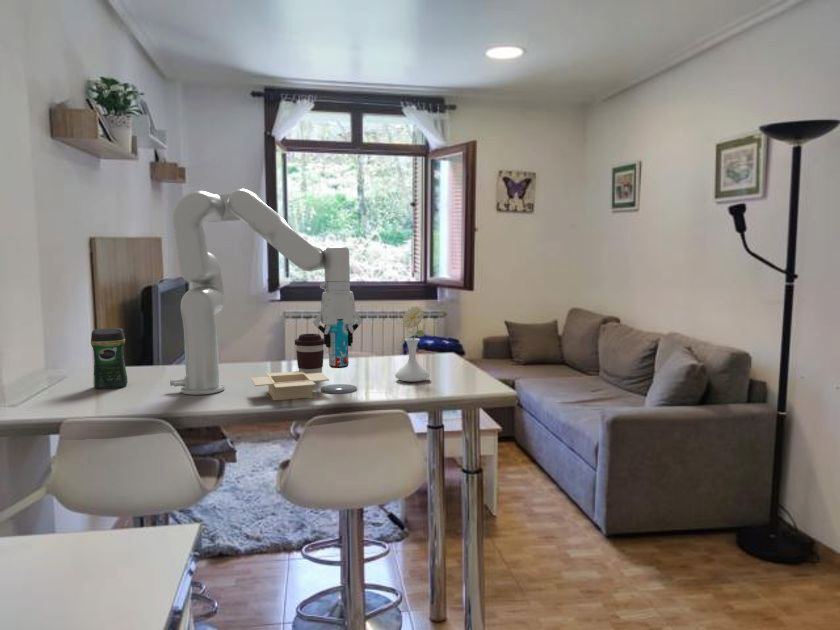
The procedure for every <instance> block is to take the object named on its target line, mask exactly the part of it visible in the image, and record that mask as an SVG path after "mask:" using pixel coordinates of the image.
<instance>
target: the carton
mask: <svg viewBox="0 0 840 630" xmlns="http://www.w3.org/2000/svg"><path fill="white" fill-rule="evenodd" d="M265 375H266V376H257V377H251V378H250V379H251V381H252V383H253V385H254V387H261V386H268V391H267V392H268V393H269V395H270V397H271V399H272V400H273V401H283V400H294V399H306V398H307V399H308V398H313V395H314V394H313V392H314V389H313V386H317V384H316V383H315V382H317V383H318V382H328V381H330V379H329V378H328V377H327V376H326V375H325V374H324V373H323V372H322V373H310V374H305V373H304V372H303V371H299V370H298V371H297V370H296V371H287V372H286V371H283V372H282V371H281V372H268V373H265Z"/></svg>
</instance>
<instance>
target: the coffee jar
mask: <svg viewBox="0 0 840 630" xmlns="http://www.w3.org/2000/svg"><path fill="white" fill-rule="evenodd" d="M90 337H91V338H90V345H91V347H92V350H93V381H92V382H93V387H94V388H95V389H99V390H105V389H116V388H121V387H126V386H127V385H128V373H127V367H126V362H125V357H124V355H125V354H124V346H125V343H126V338H125V333H124V329H123V328H122V327H121V328H120V327H110V328H109V327H108V328H107V327H105V328H97V329H94V330H92V331H91V335H90Z"/></svg>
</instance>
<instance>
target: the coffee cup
mask: <svg viewBox="0 0 840 630" xmlns="http://www.w3.org/2000/svg"><path fill="white" fill-rule="evenodd" d="M294 346H296V359H297V360H296V362H297V368H298V371H303V372H304V373H305V374H310V373H322V374H323V367H324V337H323V338H322V335H321V334H319V333H302V334H299V335H298V338H296V339H294Z"/></svg>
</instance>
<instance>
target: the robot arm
mask: <svg viewBox="0 0 840 630" xmlns="http://www.w3.org/2000/svg"><path fill="white" fill-rule="evenodd" d="M232 221H234V222H235V221H236V222H237V221H241V222H242V223H243V224H245V225H246V226H247V227H249V229H252V231H254V232H255V233H256V234H257V235H259V236H260V237H261V238H262V239H263V240H265V241H266V243H268V244H269V245H271V247H273V248H274V249H275V250H276V251H277V252H278V253H279V254H280V255H283V257H284V258H286V259H287V260H288V261H289V262H291V263H292V264H294V266H296V267H297V268H299V269H300V270H303V271H305V272H313V271H319V270H324V282H323V283H320V284H319V288H320V289H323V290H324V291H323V292H322V294H321V303H320V313H319V314H318V315H317V317H316V318H315V319H314V320H313V321H312V325H314V326H315V327H316V328H317V329H318V330H319V331H320V332H321V333H322V334H323V339H324V345H325V347H326V348H328V349H329V347H330V335H329V329H330V325H336V324H337V322H338V321H337V319H343V320H341V321H343V322H344V324H345V325H348V347H352V344H353V343H354V341H353V340H354V339H353V338H354V336H353V335H354V332H355V331H356V330H357V329H358V327H359V326H360V325H361V324H362V323H363V321H364V320H363V319H362V317H360V315H358V314H357V313H356V303H355V296H354V292H353V291H351V282H350V281H351V277H350V273H351V271H350V270H351V269H350V249H349V248H348V247H347V246H343V245H342V246H340V245H337V246H335V245H333V246H332V245H331V246H327V247H325V246H324V247H323V246H316V245H312V244H311V243H309V242H308V241H307V240H305V238H303V237H302V236H301V235H299V234H298V233H297V232H296V231H294V229H293V228H292V227H290V225H289V224H288V222H287V221H286V218H284V217H283V216H282V215H280V213H278V212H277V211H276V210H274V209H273V208H271V207H270V206H268V205H267V203H265V202H264V201H263V200H262V199H261V198H260V196H259V195H258V194H257V193H255V192H253V191H250V190H248V189H245V188H238V189H235V190H234V191H232V192H231V193H219V194H218V193H216V194H214V193H211V192H208V191H204V190H196V191H192V192H189V193H187V194H185V195H184V196H182V197H181V198H180V199H179V200H178V202H177V204H176V205H175V207H174V210H173V215H172V223H173V224H172V225H173V231H174V238H175V246H176V256H177V263H178V271H179V274H180V276H181V277H182V279H183V280H185V281H187V282H189V283H191V285H192V286H191V287H192V288H191V289H188V291H186V292H185V293H184V294H183V295H182V298H181V300H180V314H181V319H182V325H183V326H182V327H183V338H184V339H183V340H184V363H185V374H184V377H181V378H179V379H176V378H175V379H170V380H169V386H170V387H181V388H180V393H182V394H184V395H191V396H193V395H194V396H195V395H197V396H198V395H201V396H202V395H210V394H212V395H213V394H217V393H219V392H222V391H224V390H225V387H226V386H225V384H223V383H221V382H220V370H219V368H220V366H219V365H220V364H219V343H218V342H219V339H218V326H217V319H216V315H217V314H218V313H220V312H221V311H222V310H223V308H224V306H225V297H226V296H225V290H224V284H223V283H224V282H223V275H222V270H221V269H222V268H221V265H220V262H219V260H218V259H217V257H216V256H215V255H214V254H212V253H211V252H209V251H208V248H207V239H206V233H205V231H204V225H203V223H204V222H210V223H211V222H212V223H217V222H232ZM320 322H321V323H322V324H323V326H322V324H321V323H320ZM324 345H323V346H324Z"/></svg>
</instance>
